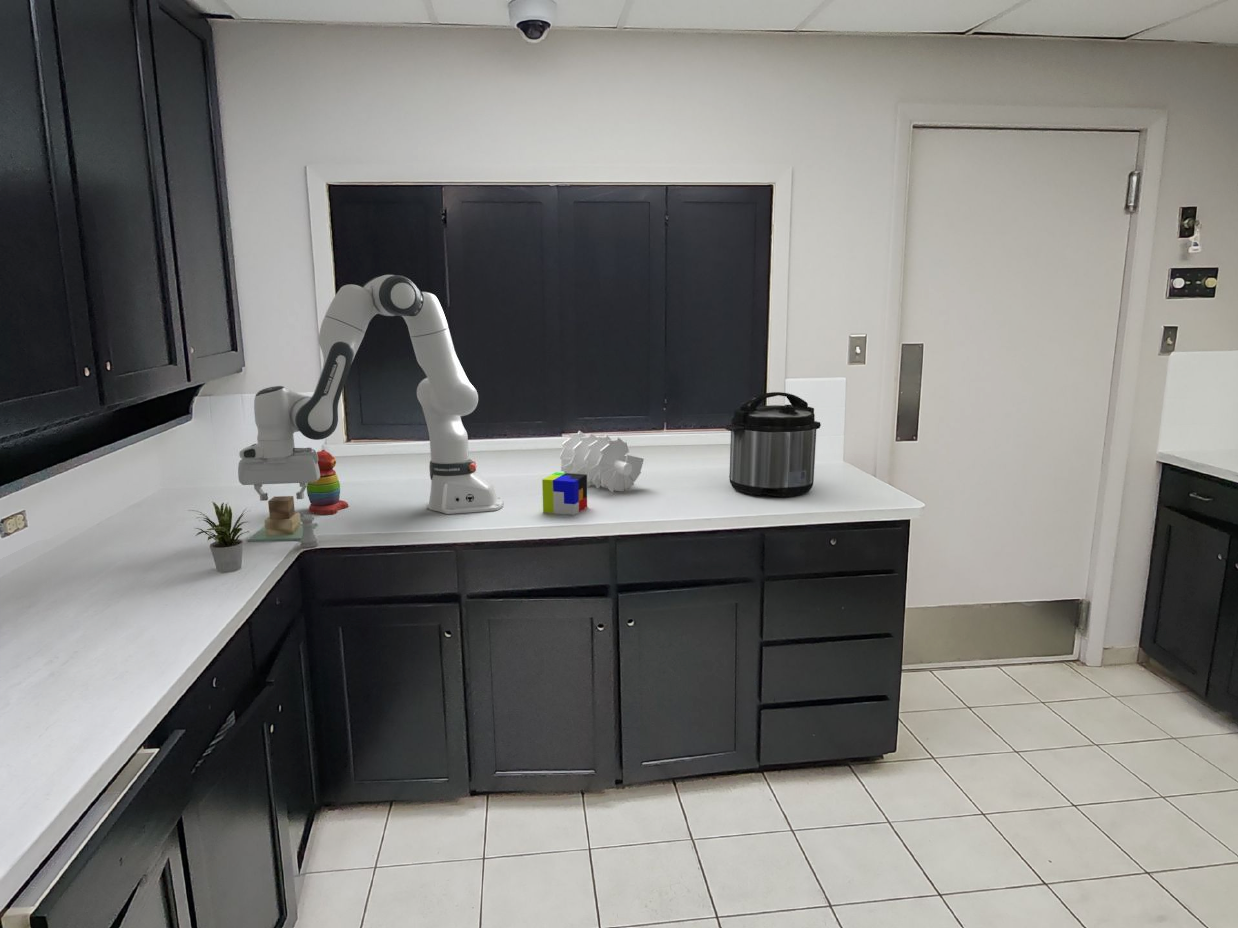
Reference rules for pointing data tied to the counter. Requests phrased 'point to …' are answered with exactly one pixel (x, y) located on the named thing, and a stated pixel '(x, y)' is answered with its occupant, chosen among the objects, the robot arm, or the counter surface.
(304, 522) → the rook chess piece
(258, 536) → the build pad
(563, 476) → the puzzle toy
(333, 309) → the robot arm
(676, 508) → the counter surface
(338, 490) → the stacking bear
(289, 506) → the walnut cube
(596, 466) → the spiral staircase
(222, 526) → the house plant
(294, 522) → the oak base block
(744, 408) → the pressure cooker
